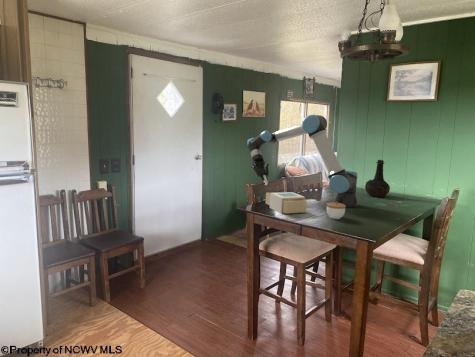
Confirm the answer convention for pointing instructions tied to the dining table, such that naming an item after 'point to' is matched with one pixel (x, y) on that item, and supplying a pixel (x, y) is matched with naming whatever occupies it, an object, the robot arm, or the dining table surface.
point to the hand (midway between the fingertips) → (266, 184)
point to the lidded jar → (335, 210)
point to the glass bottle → (378, 183)
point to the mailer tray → (290, 204)
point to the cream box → (281, 199)
